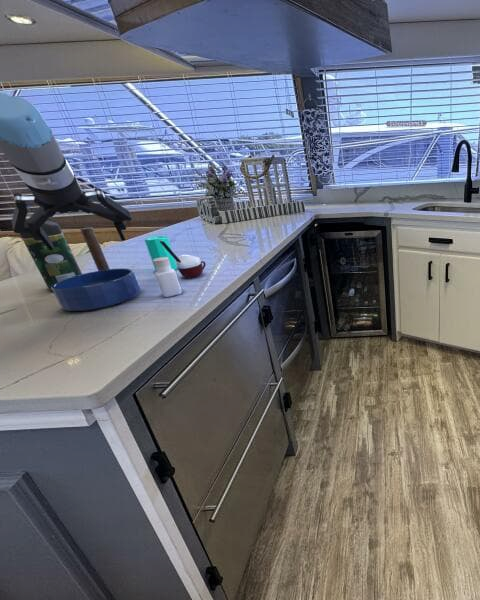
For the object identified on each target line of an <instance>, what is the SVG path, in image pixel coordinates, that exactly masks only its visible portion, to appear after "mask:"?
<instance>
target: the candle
mask: <svg viewBox="0 0 480 600" xmlns="http://www.w3.org/2000/svg"><path fill="white" fill-rule="evenodd" d="M153 235H154V236H152V237H149V238H145V239H144V242H145V245H146V248H147V251H148V253H149V256H150V259H151V261H152V265H153V267H154V271H155V272H157V270H156V268H155V265H154V263H153V260H154V259H156V258H162V257H167V258H168V259H169V262H170V266H171V269H174V270H175V271H176V270H177V269H178V267H177V265H176V262H175V261H176V260H175V259H174V258H173V257H172V255H171V254H170V253H169V252H168V251H167V250H166V249H165V247H164V246H163V245H162V244H161V243H160V241H163V242H165V243H166V245H167V246H168V247H169V248H170V249H171V250H172V246H171V244H170V241H169V237H168V236H165V235H158V236H156V233H155V232H154V233H153ZM172 251H173V250H172Z"/></svg>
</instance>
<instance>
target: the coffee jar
mask: <svg viewBox="0 0 480 600" xmlns="http://www.w3.org/2000/svg"><path fill="white" fill-rule="evenodd" d="M41 227H42V229H43V230H44V231H45V233H46V234H47V235H48V237H49V238H50V239H51V240H52V244H53V247H54V250H49V249H48V248H47V246H46V245H45V244H44V243H43V241H42V240H39V241H36V240H34V239H33V237H32V236H31V235H30V234H29V233H27V232H22V233H19V235H20V238H21V240H22V241H23V243H24V245H25V247H26V249H27V251H28V253H29V255H30V257H31V258H32V260H33V263H34V264H35V266H36V268H37V270H38V271H39V273H40V275H41V277H42V279H43V281H44V283H45V285H46V287H47V288H48V290H49V291H52V292H53V290H52V288H51V286H52V285H53V284H54V283H56V282H58V281H61V280H63V279H66V278H69V277H73V276H76V275H80V274H83V272H82V271H81V268H80V267H79V264H78V262H77V260H76V258H75V256H74V254H73V252H72V250H71V247H70V245H69V243H68V241H67V239H66V237H65V235H64V232H63V230H62V228H61V227H60V225H59V224H58V223H57V222H55V221H50V220H49V219H48V220H47V221H46V222H45V223H44V224H43V225H42V226H41Z"/></svg>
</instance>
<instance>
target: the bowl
mask: <svg viewBox="0 0 480 600" xmlns="http://www.w3.org/2000/svg"><path fill="white" fill-rule="evenodd" d="M51 288H52V290H53V291H52V290H51V291H52V292H53V294H54V297H55V298H56V300H57V303H58V304H59V307H60V308H61V309H62V310H64V311H68V312H78V311H81V312H82V311H94V310H97V309H98V310H99V309H103V308H108V307H111V306H114V305H118V304H120V303H124V302H125V301H128V300H130V299H132V298H133V297H136V296H137V295H139V294H140V293H141V287H140V285H139V282H138V279H137V277H136V274H135V271H134V269H131V268H123V267H121V268H109V269H108V270H100V271H98V270H94V271H90V272H85V273H82V274H80V275H76V276H73V277H69V278H66V279H63V280H61V281H58V282H56V283H54V284H53V285H52V286H51Z"/></svg>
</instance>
